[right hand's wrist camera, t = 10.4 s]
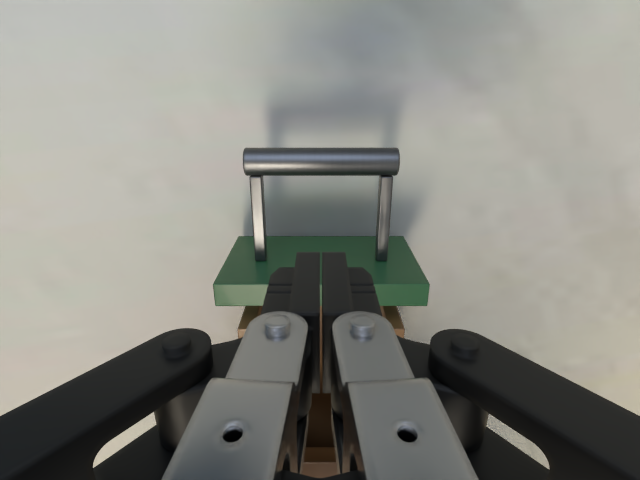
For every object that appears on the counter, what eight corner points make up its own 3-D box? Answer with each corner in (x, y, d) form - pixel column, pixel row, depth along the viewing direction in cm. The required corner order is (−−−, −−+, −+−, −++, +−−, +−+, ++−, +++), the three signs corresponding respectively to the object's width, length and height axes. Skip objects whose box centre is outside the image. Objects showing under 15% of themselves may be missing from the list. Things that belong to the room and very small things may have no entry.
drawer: (230, 138, 22) (198, 158, 16) (411, 138, 22) (444, 158, 16) (257, 462, 31) (242, 549, 26) (384, 462, 31) (399, 549, 26)
